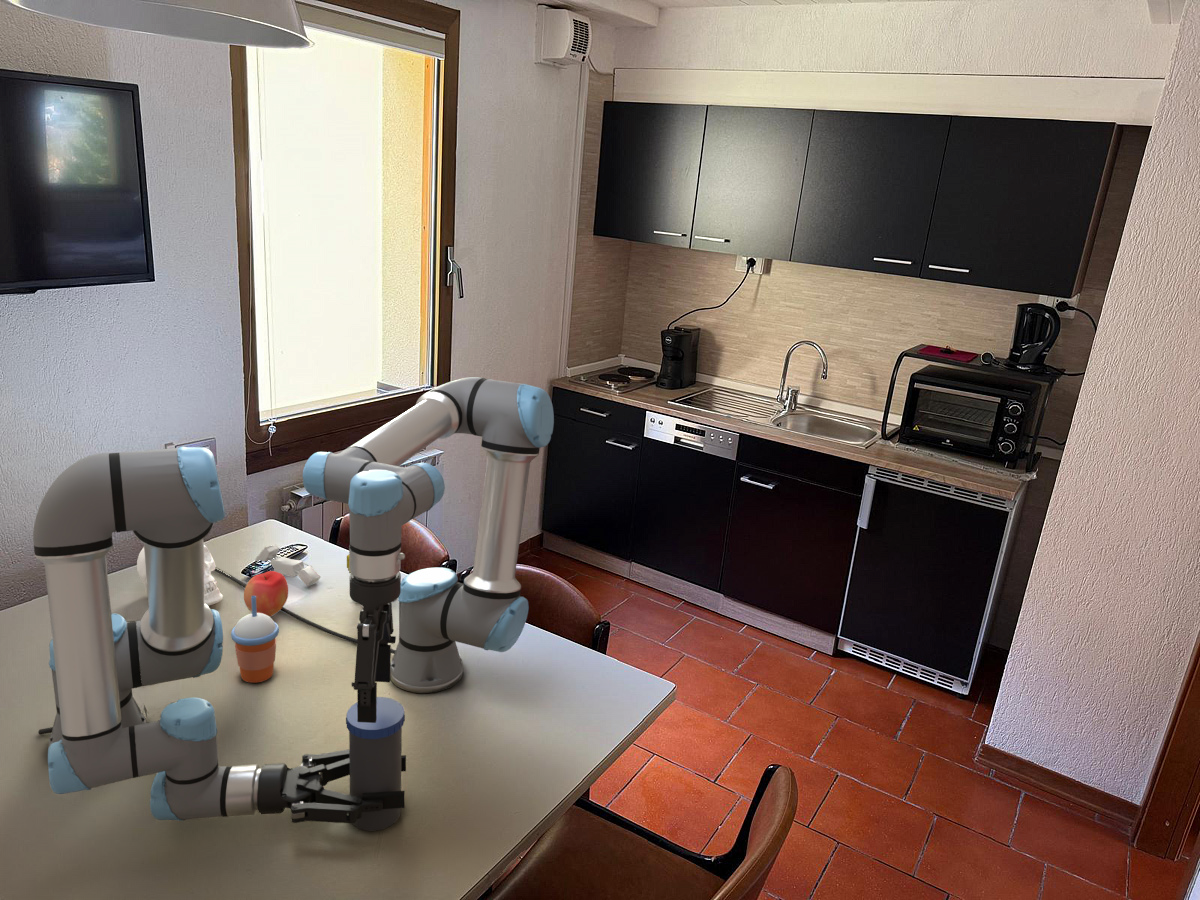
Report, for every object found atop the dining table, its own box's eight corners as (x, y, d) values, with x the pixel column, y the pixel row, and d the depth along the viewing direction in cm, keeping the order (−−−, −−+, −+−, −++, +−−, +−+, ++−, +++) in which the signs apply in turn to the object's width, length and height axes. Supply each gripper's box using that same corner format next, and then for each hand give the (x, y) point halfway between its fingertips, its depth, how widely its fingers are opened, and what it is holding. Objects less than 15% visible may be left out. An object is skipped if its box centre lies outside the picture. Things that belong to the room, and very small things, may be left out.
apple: (273, 600, 207) (272, 562, 204) (297, 613, 202) (296, 575, 199) (237, 614, 200) (234, 575, 197) (261, 628, 194) (259, 588, 191)
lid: (338, 737, 132) (338, 728, 132) (354, 703, 141) (354, 694, 140) (397, 741, 133) (397, 732, 132) (409, 707, 141) (410, 698, 141)
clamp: (253, 565, 223) (254, 542, 221) (265, 560, 226) (266, 537, 224) (309, 593, 215) (310, 569, 213) (320, 588, 218) (321, 564, 216)
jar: (344, 829, 138) (342, 729, 132) (357, 794, 146) (356, 698, 140) (394, 832, 138) (395, 732, 133) (405, 797, 146) (406, 702, 140)
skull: (202, 618, 196) (199, 554, 192) (125, 599, 202) (121, 536, 198) (241, 595, 209) (240, 535, 205) (167, 578, 215) (164, 519, 210)
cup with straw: (264, 690, 172) (261, 610, 167) (223, 682, 173) (219, 602, 168) (289, 667, 180) (286, 590, 175) (250, 659, 182) (246, 583, 177)
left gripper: (271, 766, 147) (406, 759, 152) (247, 857, 128) (403, 846, 132) (270, 729, 145) (407, 722, 150) (245, 816, 126) (403, 806, 130)
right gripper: (385, 609, 118) (384, 746, 124) (412, 543, 140) (410, 662, 146) (330, 606, 118) (332, 744, 124) (366, 541, 140) (366, 660, 146)
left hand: (405, 780), depth 141 cm, fingers closed on jar, 8 cm apart
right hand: (374, 700), depth 135 cm, fingers open, 10 cm apart
